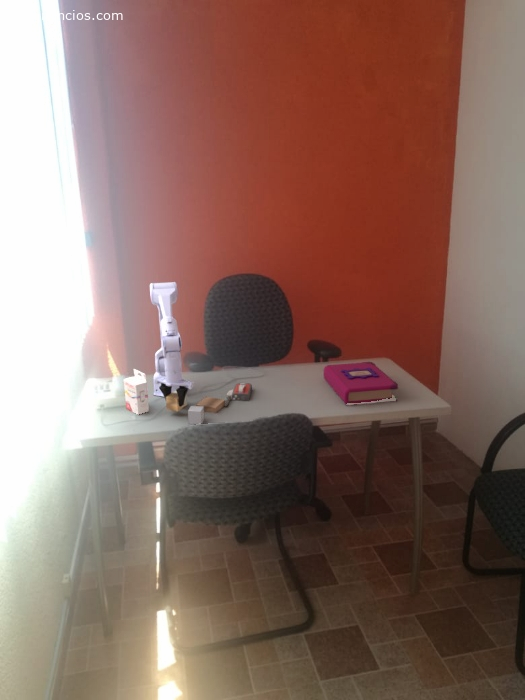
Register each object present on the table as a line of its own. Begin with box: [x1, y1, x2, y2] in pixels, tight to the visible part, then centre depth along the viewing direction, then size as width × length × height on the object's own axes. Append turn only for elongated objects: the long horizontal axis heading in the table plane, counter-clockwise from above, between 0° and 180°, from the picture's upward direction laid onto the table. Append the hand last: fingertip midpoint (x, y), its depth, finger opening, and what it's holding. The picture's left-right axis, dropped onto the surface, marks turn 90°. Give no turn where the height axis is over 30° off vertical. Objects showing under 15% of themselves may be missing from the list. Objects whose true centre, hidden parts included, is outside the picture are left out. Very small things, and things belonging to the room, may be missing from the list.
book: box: [323, 361, 399, 405], centre depth 219 cm, size 21×28×8 cm
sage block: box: [173, 391, 188, 407], centre depth 206 cm, size 4×4×5 cm
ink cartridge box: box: [123, 368, 150, 416], centre depth 201 cm, size 9×5×15 cm, turn 44°
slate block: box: [187, 405, 205, 425], centre depth 193 cm, size 4×4×5 cm
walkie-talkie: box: [224, 382, 253, 407], centre depth 213 cm, size 9×4×20 cm
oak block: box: [165, 392, 185, 412], centre depth 198 cm, size 4×4×5 cm
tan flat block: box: [195, 396, 226, 414], centre depth 205 cm, size 8×8×2 cm
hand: (175, 404), depth 198 cm, fingers closed on oak block, 4 cm apart
